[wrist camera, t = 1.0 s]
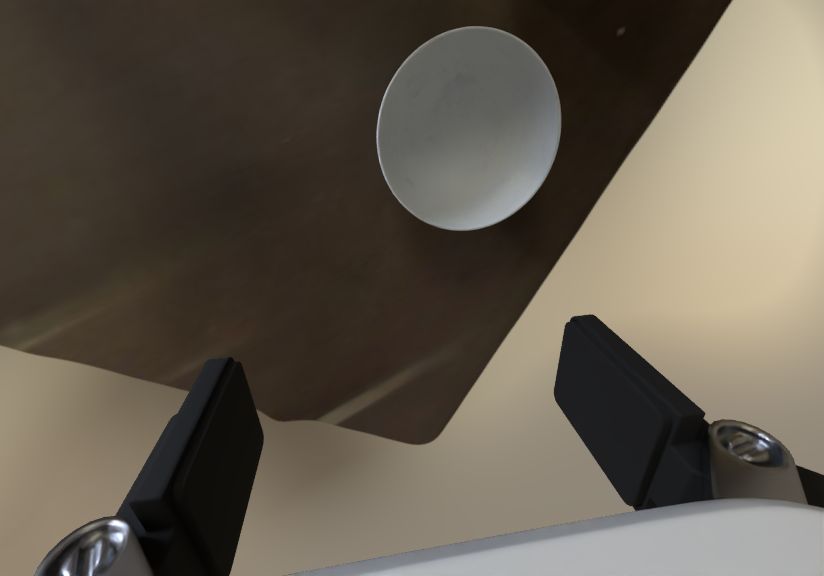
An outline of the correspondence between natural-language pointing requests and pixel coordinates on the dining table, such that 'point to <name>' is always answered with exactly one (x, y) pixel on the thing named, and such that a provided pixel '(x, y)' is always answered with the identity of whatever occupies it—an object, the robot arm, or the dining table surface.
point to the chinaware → (468, 128)
